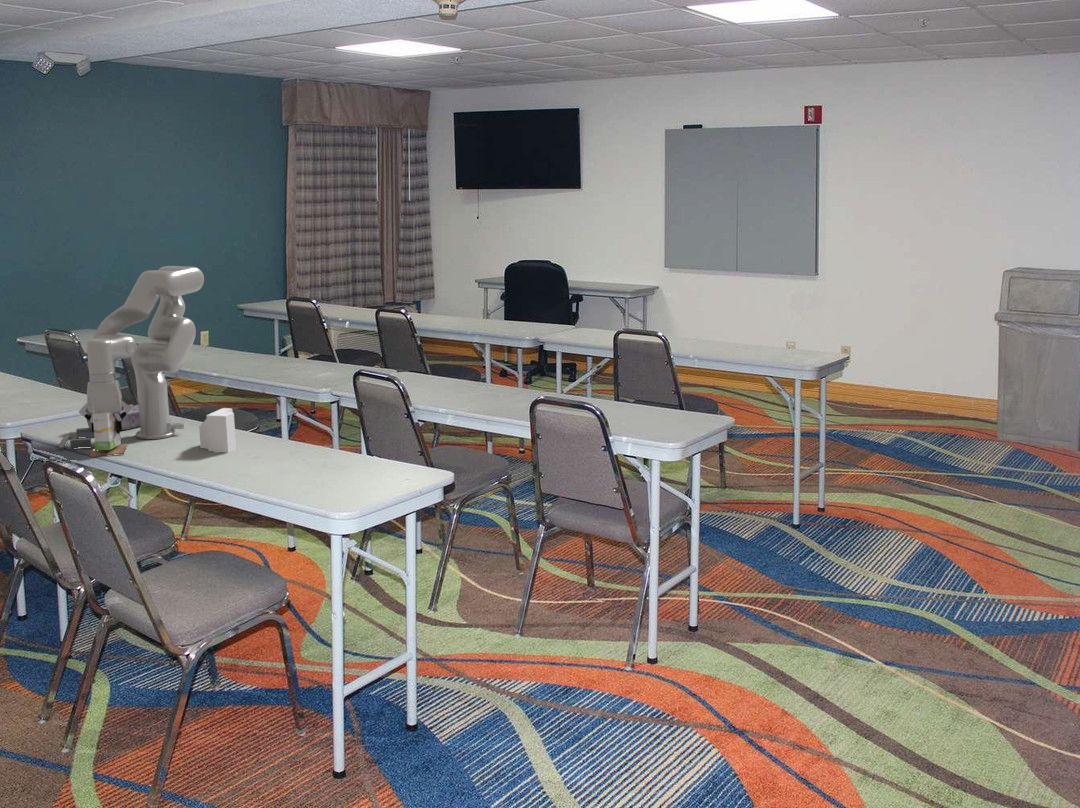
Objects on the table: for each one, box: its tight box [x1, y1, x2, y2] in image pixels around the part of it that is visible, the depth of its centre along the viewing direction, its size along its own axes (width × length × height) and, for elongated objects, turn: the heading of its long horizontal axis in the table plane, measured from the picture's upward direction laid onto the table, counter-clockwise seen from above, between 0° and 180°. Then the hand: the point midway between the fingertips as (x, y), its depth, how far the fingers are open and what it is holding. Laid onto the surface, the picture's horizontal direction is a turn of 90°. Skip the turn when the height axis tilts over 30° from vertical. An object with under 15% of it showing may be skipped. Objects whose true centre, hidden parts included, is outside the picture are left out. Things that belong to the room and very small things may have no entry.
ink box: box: [93, 404, 122, 450], centre depth 334 cm, size 9×5×15 cm, turn 179°
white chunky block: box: [198, 407, 237, 454], centre depth 339 cm, size 11×11×12 cm
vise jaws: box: [57, 427, 95, 451], centre depth 346 cm, size 10×17×3 cm, turn 16°
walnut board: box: [89, 443, 128, 458], centre depth 336 cm, size 10×12×1 cm
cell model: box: [85, 401, 140, 432], centre depth 365 cm, size 13×11×20 cm
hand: (107, 432), depth 335 cm, fingers closed on ink box, 6 cm apart
